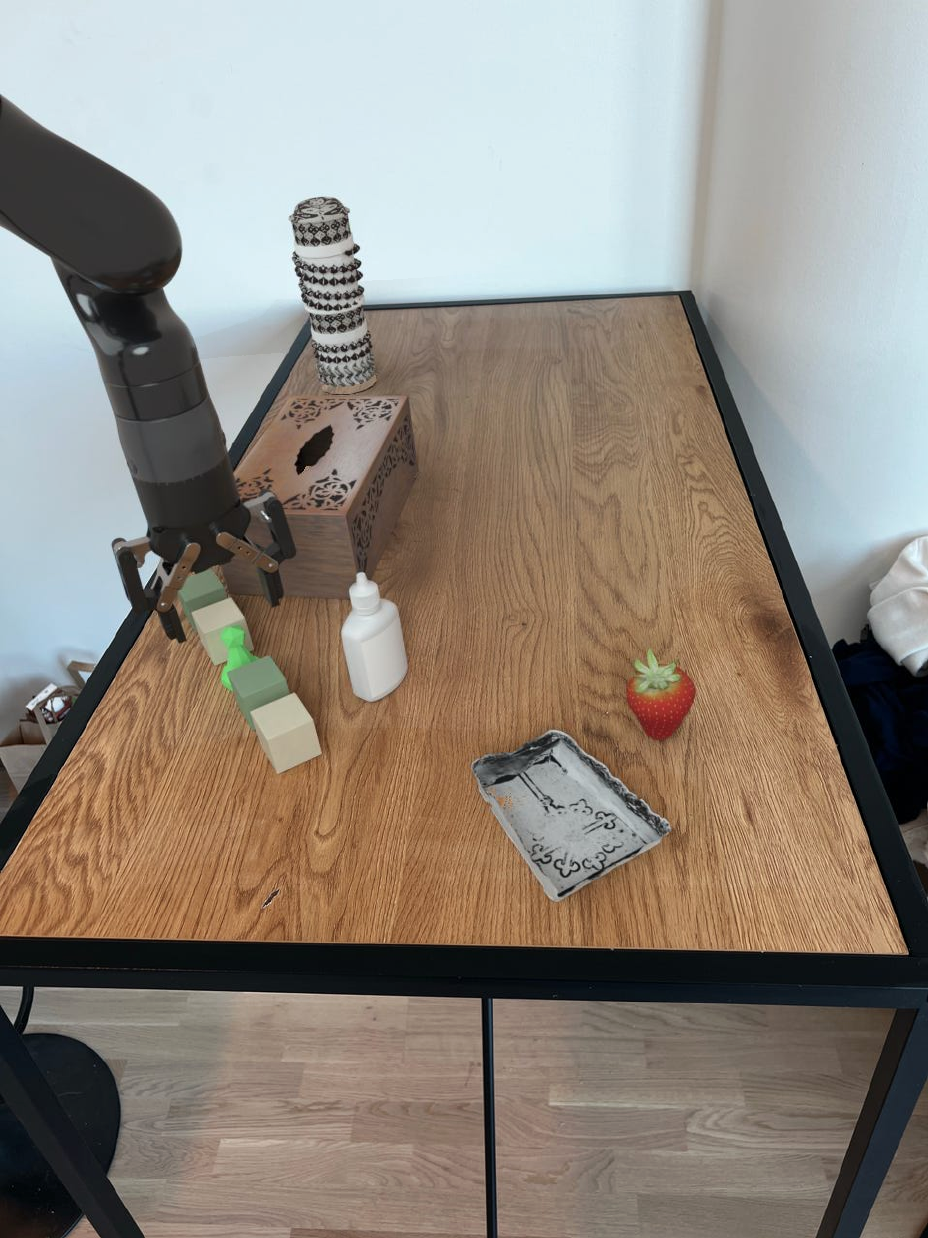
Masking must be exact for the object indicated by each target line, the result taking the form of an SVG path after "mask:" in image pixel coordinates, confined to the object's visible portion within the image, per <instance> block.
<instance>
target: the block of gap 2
mask: <svg viewBox="0 0 928 1238" xmlns="http://www.w3.org/2000/svg"><path fill="white" fill-rule="evenodd" d="M227 675H228V678H229V681H230V684H231V687H232V690H233V692H232V693H233V696H234V699H235V702H236V704H237V707H238V709H239V711H240V712H241V714H242V716H243V717H244V719H245V721H246V722H247V724H248V726H249V727H250V729H251V731H252V732H254V731H256V729H255V726H254V723H253V719H252V716H251V713H250V712H251V711H253V710H255V709H257V708H260V707H262V706H264V705H267V704H269V703H271V702H274V701H276V700H278V699H281V698H283V697H285V696H288V695H290V694H291V692H290V689H289V685H288V681H287V678H286V677H285V675H284V674H283V672H282V671H281V669H280V668H279V666H278V665H277V664H276V662H275V660H274V659H273V658H272V655H270V654H268V655H265V656H263V657H259V659H258V660H255V661H253V662H251V663H248V664H246V665H243V666H241V667H238V668H236V669H234V670H231V671H229V672H227Z"/></svg>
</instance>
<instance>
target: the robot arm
mask: <svg viewBox="0 0 928 1238" xmlns="http://www.w3.org/2000/svg"><path fill="white" fill-rule="evenodd" d="M0 228H3V229H5V230H6V231H8V232H10V233H11V234H13V235H15V236H16V237H18V238H19V239H21V240H22V241H24V242H25V243H27V244H29V245H30V246H32V247H33V248H35V249H37V250H38V251H40V252H41V253H43V254H44V255H46V256H48V257H49V258H50V262H51V263H52V265H53V268H54V270H55V274H56V275H57V278H58V279H59V280H58V281H59V282H60V284H61V286H62V288H63V290H64V292H65V294H66V296H67V298H68V301H69V303H70V305H71V307H72V309H73V311H74V314H75V315H76V317H77V319H78V321H79V322H80V325H81V326H82V328H83V330H84V333H85V335H86V336H87V338H88V341H89V342H90V344H91V347H92V349H93V352H94V354H95V357H96V362H97V367H98V369H99V372H100V376H101V379H102V382H103V385H104V388H105V391H106V394H107V397H108V400H109V404H110V406H111V409H112V412H113V415H114V419H115V423H116V431H117V435H118V440H119V444H120V447H121V450H122V452H123V455H124V460H125V462H126V466H127V467H128V470H129V473H130V476H131V479H132V483H133V486H134V488H135V491H136V494H137V497H138V500H139V503H140V505H141V506H140V507H141V508H142V511H143V515H144V518H145V520H146V524H147V529H146V534H145V536H141V537H138V538H134V539H131V540H130V539H129V540H128V541H127V540H126V539H125V538H123V537H116V538H114V539H113V540H112V542H111V545H110V546H111V548H112V553H113V556H114V559H115V563H116V566H117V570H118V573H119V577H120V580H121V583H122V586H123V590H124V593H125V596H126V598H127V600H128V602H129V603H130V605H131V608H132V611H133V612H134V613H135V614H138V615H142V614H145V613H146V612H147V611H154V612H156V614H157V616H158V619H159V621H160V624H161V627H162V630H163V631H164V633H165V635H166V637H167V638H168V639H169V641H174V640H176V642H177V643H178V644H182V643H185V642H187V640H188V639H187V636H186V633H185V631H184V628H183V625H182V621H181V618H180V616H179V613H178V610H177V608H176V606H175V604H174V602H175V600H176V597H177V596H178V594H177V593H178V591H179V590H181V589H182V588H183V586H184V584H185V581H186V579H187V577H189V575H190V573H194V575H195V574H198V573H201V572H204V571H206V570H208V569H211V568H213V567H215V566H217V567H218V566H220V565H223V564H226V563H229V562H231V558H233V557H234V556H235V555H238V556H240V557H241V558H243V559H245V560H246V561H248V562H250V563H251V564H253V563H254V564H255V565H256V566H257V570H258V573H259V577H260V581H261V585H262V589H263V592H264V595H263V596H264V598H265V600H266V602H267V603H268V604H269V606H270V608H272V609H274V608H276V607H279V606H280V605H281V602H280V600H281V599H283V598H284V596H283V595H284V590H283V587H282V582H281V578H280V574H279V570H278V568H279V565H280V564H281V562H283V561H284V560H285V559H292V558H294V557H295V555H296V548H295V545H294V542H293V538H292V535H291V532H290V529H289V525H288V522H287V519H286V516H285V512H284V509H283V506H282V503H281V502H280V500H279V499H278V498H277V497H276V496H275V495H274V494H273V492H272V491H271V490H270V489H267V488H265V489H262V490H261V491H260V492H259V495H258V498H256V499H253V500H251V501H248V502H246V503H243V502H242V501H241V499H240V496H239V492H238V488H237V485H236V481H235V477H234V473H233V472H234V470H233V465H232V462H231V458H230V455H229V451H228V447H227V437H226V433H225V432H224V430H223V428H222V424H221V421H220V417H219V414H218V412H217V410H216V407H215V405H214V402H213V400H212V398H211V395H210V393H209V390H208V385H207V382H206V377H205V374H204V370H203V367H202V363H201V359H200V355H199V351H198V348H197V344H196V342H195V339H194V337H193V334H192V332H191V330H190V328H189V327H188V325H187V324H186V322H185V321H184V320H183V319H182V318H181V317H180V316H179V314H178V313H177V312H176V311H175V310H174V309H173V307H172V306H171V304H170V302H169V300H168V298H167V294H166V292H165V289H164V288H165V287H166V286H168V285H169V283H170V282H171V281H172V280H173V279H174V277H175V276H176V274H177V272H178V270H179V268H180V266H181V262H182V258H183V239H182V234H181V231H180V227H179V225H178V223H177V221H176V218H175V216H174V215H173V213H172V211H171V210H170V209H169V207H168V206H167V205H166V204H165V202H164V201H163V200H162V199H161V198H160V197H159V196H158V195H157V194H156V193H154V192H153V191H152V190H150V189H149V188H148V187H147V186H145V185H143V184H142V183H140V182H139V181H138V180H136V179H135V178H132V177H131V176H130V175H128V174H126V173H125V172H123V171H122V170H120V169H118V168H117V167H116V166H115V167H114V166H113V165H111V164H110V163H108V162H106V161H104V160H103V159H101V158H100V157H98V156H96V155H94V154H92V153H91V152H89V151H87V150H85V149H84V148H82V147H81V146H79V145H77V144H75V143H73V142H72V141H70V140H68V139H66V138H64V137H62V136H61V135H59V134H58V133H57V134H56V133H55V132H53V131H52V130H50V129H48V128H47V127H46V126H44V125H42V124H41V123H40V122H39V121H37V120H35V119H34V118H33V117H32V116H30V115H29V114H27V113H26V112H25V111H23V110H22V109H21V108H20V107H19V106H18V105H16V104H15V103H14V102H13V101H11V100H10V99H8V98H7V97H6V96H5V95H4V94H1V93H0ZM251 516H257V517H258V518H259V519H260V521H261V522H263V523H267V525H268V528H269V531H270V534H271V537H272V540H273V543H272V544H271V545H269V546H268V547H267V548H265V547H263V546H262V545H260V544H258V543H257V542H255V541H254V540H252V539H251V538H250V537H249V536H247V535H246V534H245V533H246V531H247V528H248V526H249V524H250V521H251ZM149 552H152V554H154V555H156V556H158V557H160V559H159V560H158V561H159V562H158V563H157V567H156V574H155V577H154V580H153V582H152V584H151V586H150V588H144V586H143V582H142V579H141V575H140V571H139V569H141V568H142V567H143V566H144V564H145V563H146V555H147V554H148V553H149Z"/></svg>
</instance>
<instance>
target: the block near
mask: <svg viewBox="0 0 928 1238" xmlns="http://www.w3.org/2000/svg"><path fill="white" fill-rule="evenodd" d="M250 713H251V716H252V719H253V723H254V726H255V729H256V730H255V732H256V736H257V738H258V742H259V744H260V747H261V748H262V750H263V752H264V754H265V756H266V757H267V759H268V760H269V762H270V764H271V765H272V767H273V769H274V771H275V773H276V774H277V775H279V774H282V773H283V772H286V771H288V770H290V769H293V768H294V767H296V766H299V765H301V764H303V763H305V762H307V761H309V760H313V759H314V758H315V757H318V756H320V755H322V754H323V752H322V748H321V744H320V741H319V737H318V733H317V729H316V724H315V722H314V719H313V718H312V716H311V714H310V713H309V711H308V710H307V708H306V706H304V704H303V702H302V700H300V698H299V697H298V695H297V694H296V692H292V693H290V695H288V696H285V697H283V698H281V699H278V700H276V701H274V702H271V703H269V704H267V705H264V706H262V707H260V708H257V709H255V710H253V711H251V712H250Z"/></svg>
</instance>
